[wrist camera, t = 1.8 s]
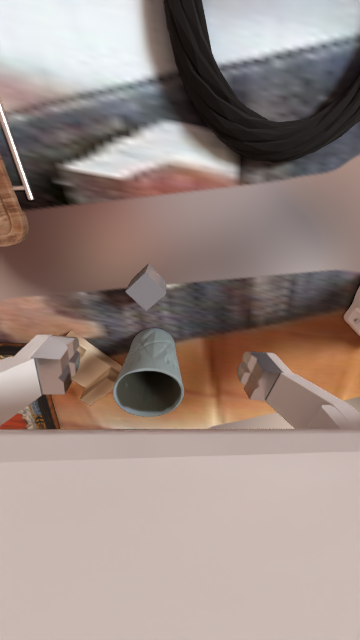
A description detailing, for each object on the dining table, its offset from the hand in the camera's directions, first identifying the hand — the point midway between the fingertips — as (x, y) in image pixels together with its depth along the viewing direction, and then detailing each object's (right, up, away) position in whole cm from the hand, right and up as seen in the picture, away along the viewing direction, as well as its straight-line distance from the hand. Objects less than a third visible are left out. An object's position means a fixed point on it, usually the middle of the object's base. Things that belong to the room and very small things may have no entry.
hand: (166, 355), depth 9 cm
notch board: (-18, -7, +29) cm, 35 cm away
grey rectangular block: (-5, +8, +22) cm, 24 cm away
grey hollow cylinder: (-5, -4, +28) cm, 29 cm away
